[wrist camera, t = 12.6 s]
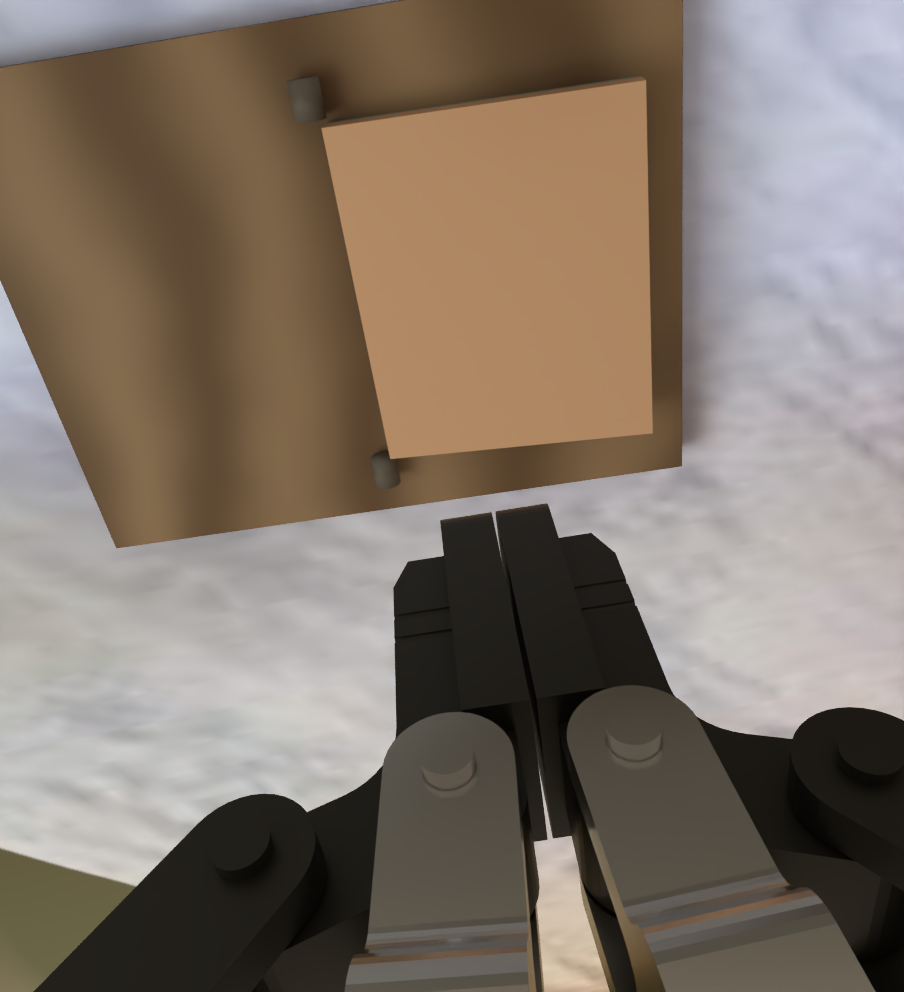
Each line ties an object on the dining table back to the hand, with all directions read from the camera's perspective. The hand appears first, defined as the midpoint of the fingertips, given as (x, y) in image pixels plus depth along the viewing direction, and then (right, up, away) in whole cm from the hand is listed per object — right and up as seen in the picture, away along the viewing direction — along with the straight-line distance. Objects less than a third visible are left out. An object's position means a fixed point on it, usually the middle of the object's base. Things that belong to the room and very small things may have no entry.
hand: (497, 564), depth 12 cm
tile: (+1, +8, +17) cm, 19 cm away
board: (-4, +9, +20) cm, 22 cm away
